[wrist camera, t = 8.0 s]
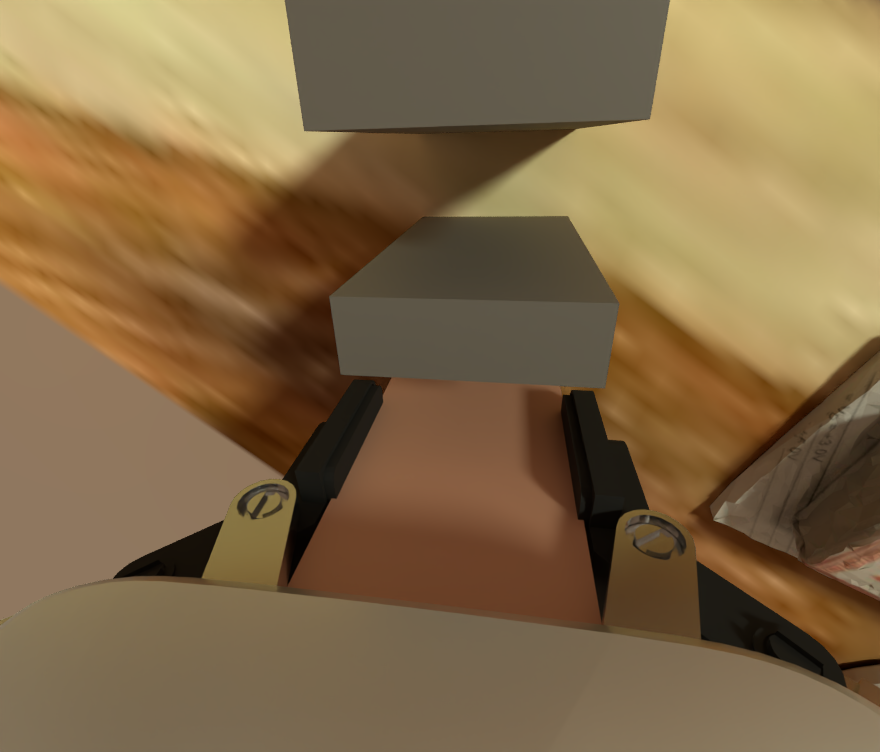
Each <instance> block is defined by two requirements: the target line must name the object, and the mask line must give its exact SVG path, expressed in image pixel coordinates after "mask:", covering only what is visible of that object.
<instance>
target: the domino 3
mask: <svg viewBox="0 0 880 752" xmlns="http://www.w3.org/2000/svg"><path fill="white" fill-rule="evenodd" d="M561 405H562V393H561V388H560V386H551V385H532V384H512V383H493V382H473V381H454V380H434V379H415V378H396V377H392V378H391V380H390V382H389V384H388V386H387V388H386V390H385V392H384V394H383V404H382V406H381V408H380V410H379V412H378V414H377V416H376V418H375V420H374V423H373V425H372V427H371V429H370V431H369V433H368V435H367V437H366V439H365V441H364V443H363V445H362V447H361V449H360V451H359V453H358V456H357V458H356V460H355V462H354V464H353V466H352V468H351V470H350V472H349V474H348V476H347V478H346V480H345V482H344V484H343V486H342V489H341V491H340V493H339V495H338V497H337V499H332V498H331V500H330V502H329V504H328V506H327V508H326V510H325V512H324V514H323V516H322V518H321V520H320V522H319V524H318V526H317V528H316V530H315V532H314V534H313V536H312V538H311V540H310V542H309V544H308V546H307V548H306V550H305V552H304V554H303V556H302V558H301V560H300V562H299V564H298V566H297V568H296V570H295V572H294V574H293V576H292V578H291V580H290V582H289V584H288V586H287V587H292V588H300V589H309V590H318V591H327V592H336V593H345V594H353V595H362V596H370V597H379V598H387V599H396V600H404V601H413V602H421V603H429V604H438V605H446V606H455V607H463V608H471V609H480V610H488V611H496V612H504V613H512V614H520V615H528V616H536V617H544V618H552V619H560V620H568V621H576V622H584V623H592V624H600V625H601V624H602V623H601V617H600V611H599V606H598V600H597V594H596V588H595V583H594V577H593V571H592V565H591V560H590V554H589V548H588V542H587V537H586V531H585V525H584V520H578V517H577V511H576V505H575V498H574V492H573V486H572V479H571V473H570V467H569V461H568V454H567V448H566V442H565V436H564V429H563V423H562V417H561Z"/></svg>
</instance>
